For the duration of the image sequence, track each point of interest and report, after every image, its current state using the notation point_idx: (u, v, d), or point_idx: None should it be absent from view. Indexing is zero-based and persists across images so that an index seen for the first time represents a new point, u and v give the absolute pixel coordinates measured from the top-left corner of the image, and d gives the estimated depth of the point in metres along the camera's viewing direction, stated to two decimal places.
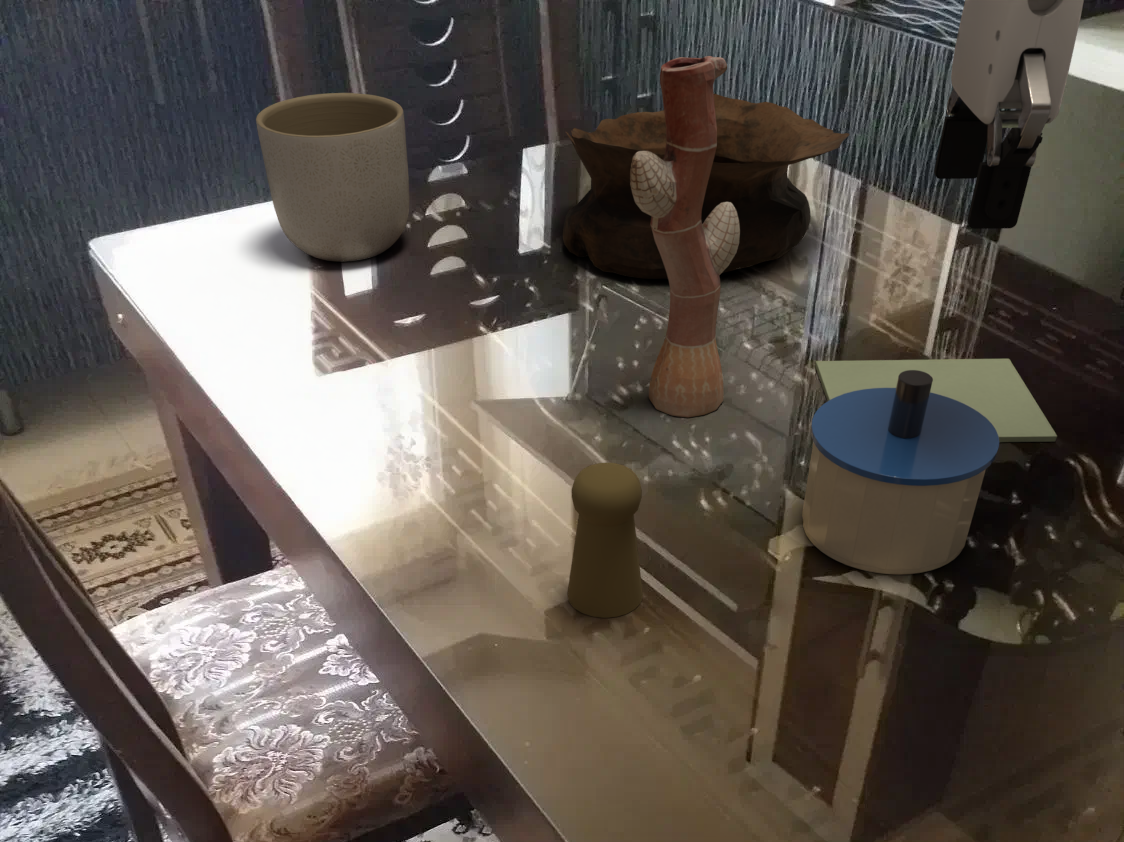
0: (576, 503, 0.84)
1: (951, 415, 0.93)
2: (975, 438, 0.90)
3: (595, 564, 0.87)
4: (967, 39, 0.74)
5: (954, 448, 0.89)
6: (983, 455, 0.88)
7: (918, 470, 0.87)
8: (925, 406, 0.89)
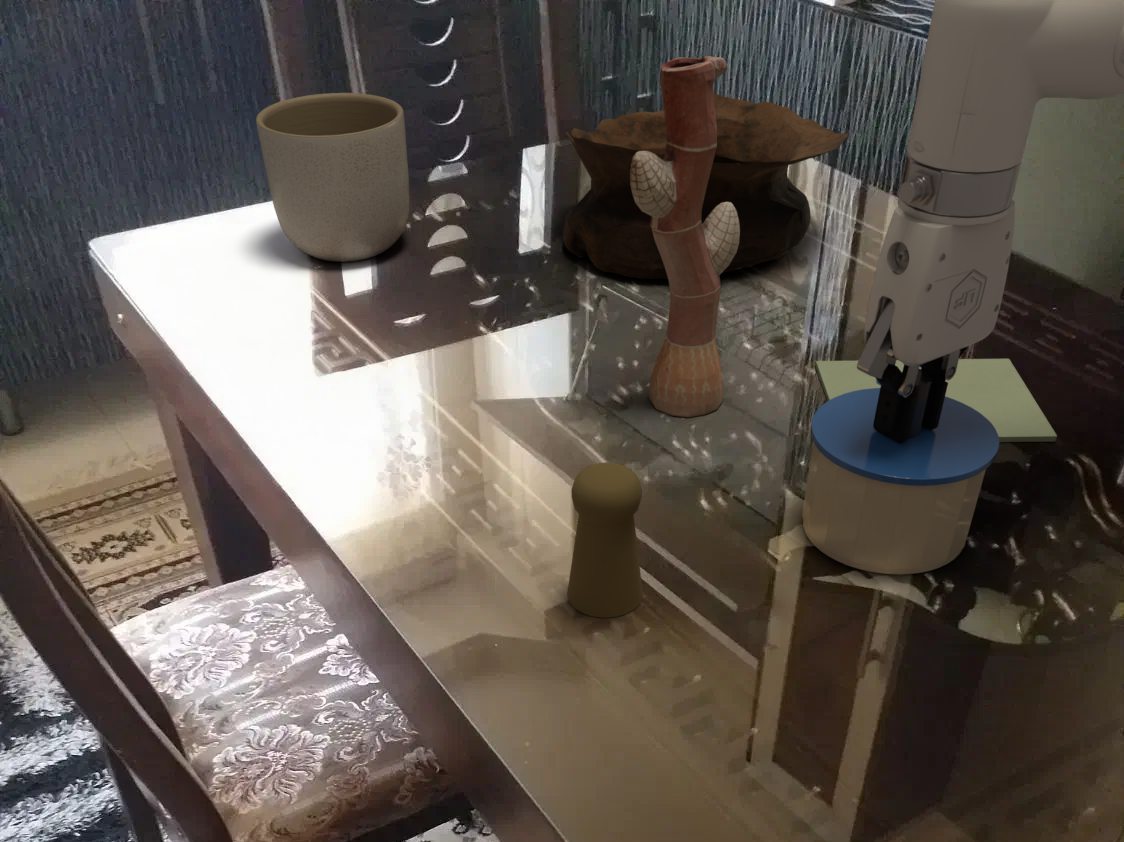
0: (576, 503, 0.84)
1: (951, 415, 0.93)
2: (975, 438, 0.90)
3: (595, 565, 0.87)
4: None
5: (954, 448, 0.89)
6: (983, 455, 0.88)
7: (918, 470, 0.87)
8: (925, 406, 0.89)
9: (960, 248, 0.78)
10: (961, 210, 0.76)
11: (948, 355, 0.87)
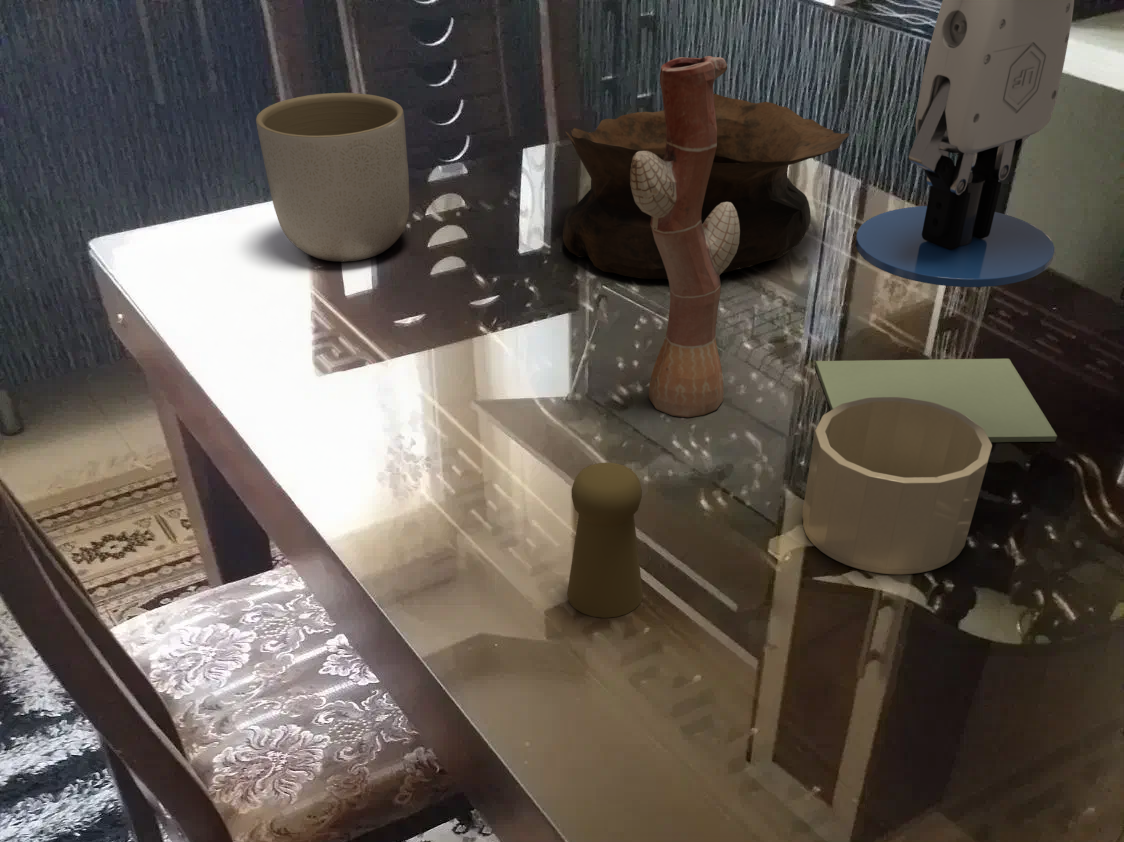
0: (576, 503, 0.84)
1: (1001, 226, 0.89)
2: (1029, 245, 0.86)
3: (595, 565, 0.87)
4: None
5: (1008, 253, 0.85)
6: (1039, 258, 0.84)
7: (972, 272, 0.83)
8: (977, 209, 0.85)
9: (1021, 14, 0.74)
10: None
11: (1002, 150, 0.83)
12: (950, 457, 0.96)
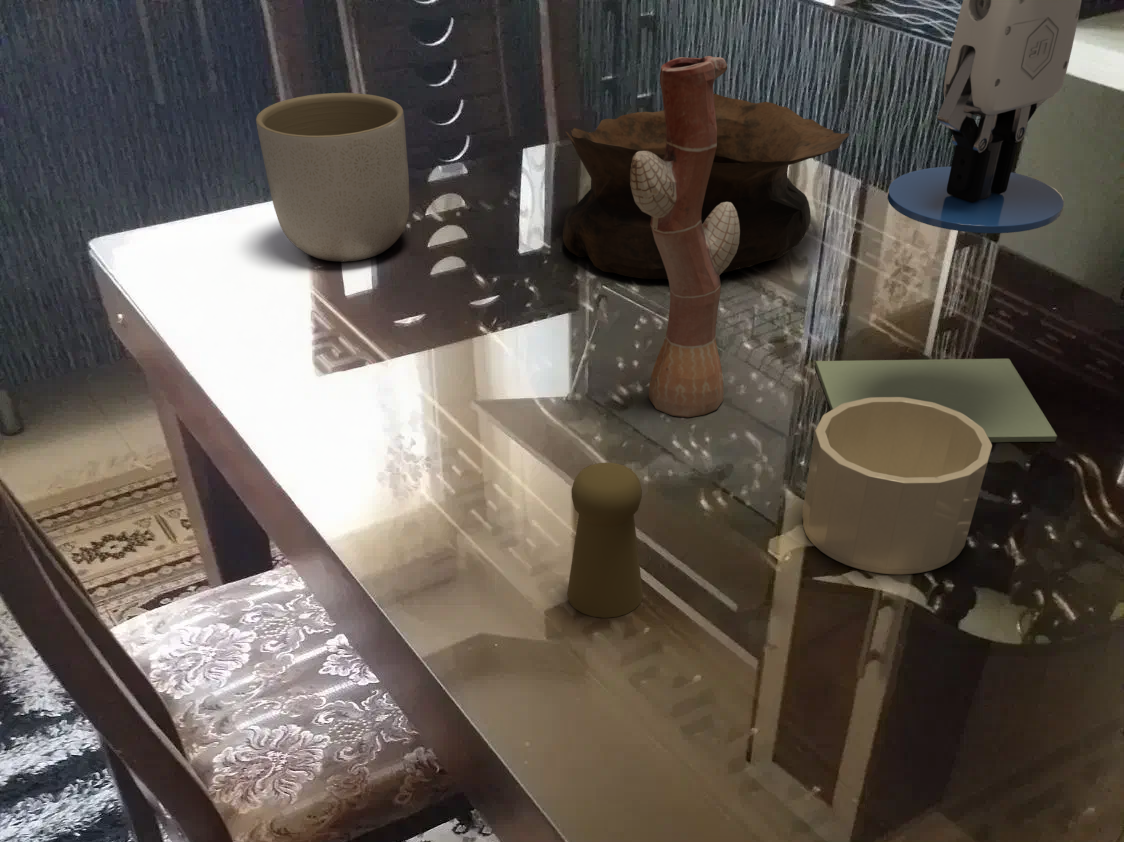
0: (576, 503, 0.84)
1: (1016, 184, 1.00)
2: (1041, 199, 0.98)
3: (595, 564, 0.87)
4: None
5: (1022, 205, 0.97)
6: (1050, 210, 0.96)
7: (991, 220, 0.94)
8: (996, 166, 0.96)
9: None
10: None
11: (1019, 114, 0.94)
12: (950, 457, 0.96)
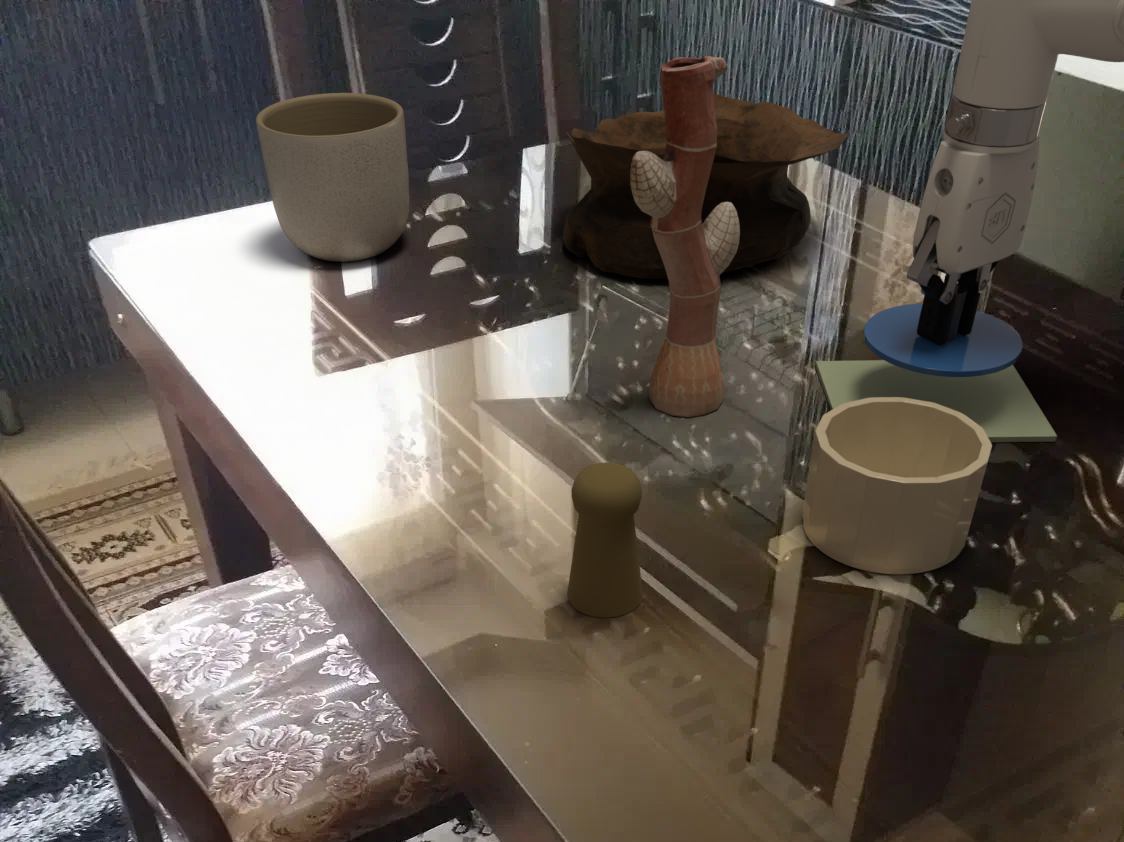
0: (576, 503, 0.84)
1: (981, 324, 1.10)
2: (1002, 341, 1.08)
3: (595, 565, 0.87)
4: None
5: (985, 348, 1.07)
6: (1009, 354, 1.06)
7: (955, 365, 1.04)
8: (961, 313, 1.06)
9: (995, 173, 0.96)
10: (997, 141, 0.93)
11: (981, 269, 1.04)
12: (950, 457, 0.96)
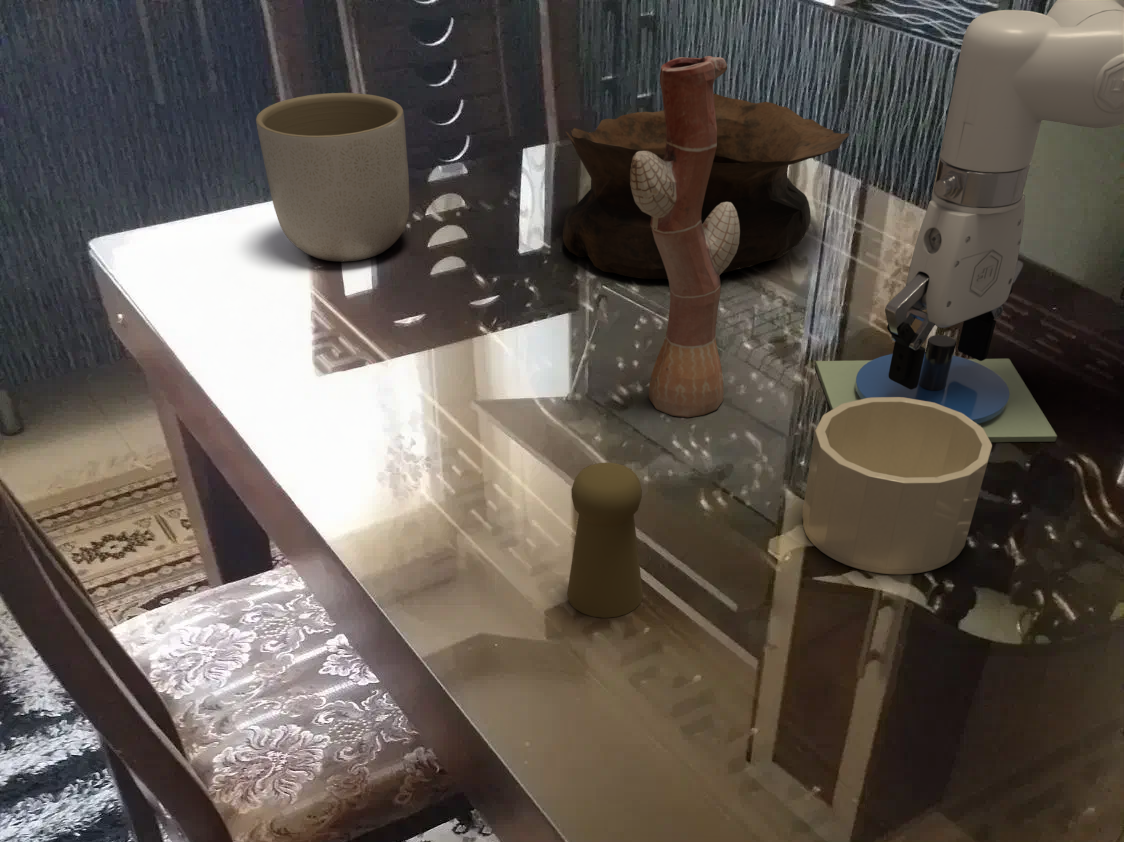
0: (576, 503, 0.84)
1: (969, 373, 1.14)
2: (990, 390, 1.11)
3: (595, 564, 0.87)
4: None
5: (973, 398, 1.10)
6: (997, 404, 1.09)
7: None
8: (949, 364, 1.10)
9: (982, 232, 0.99)
10: (983, 202, 0.97)
11: None
12: (950, 457, 0.96)
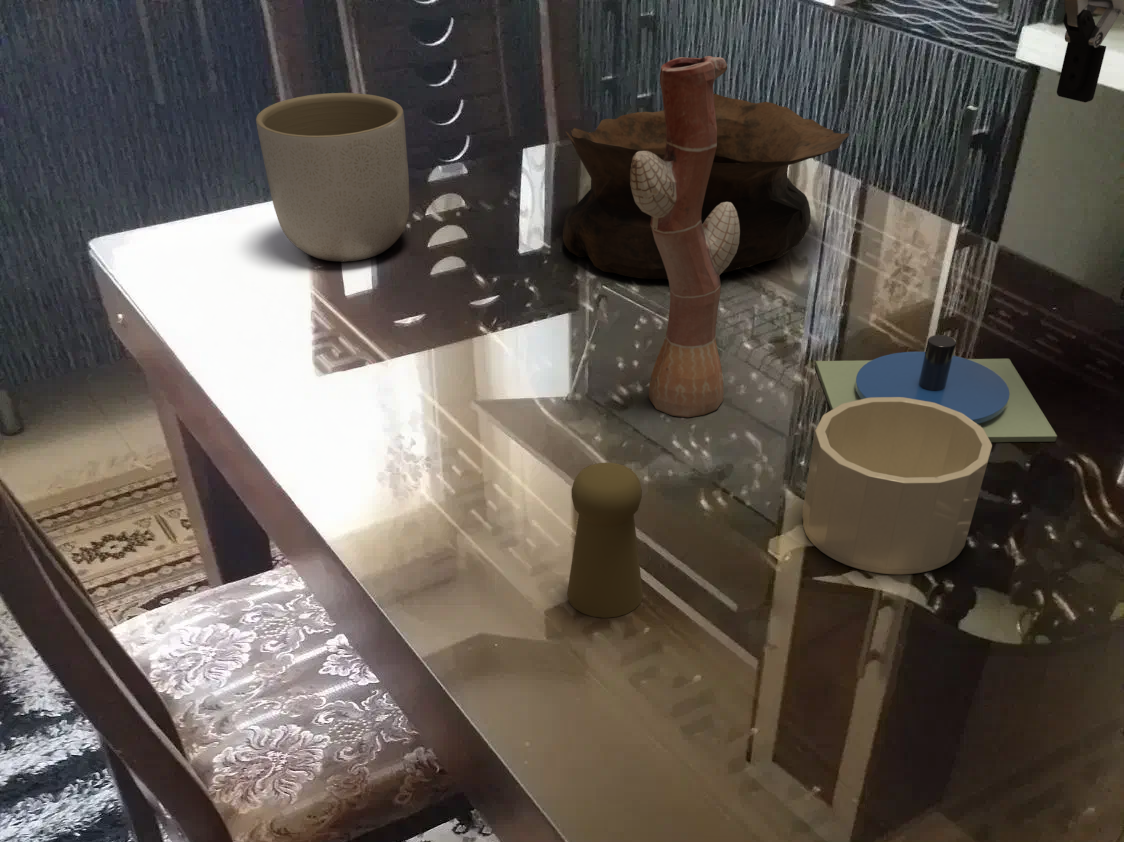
0: (576, 503, 0.84)
1: (969, 373, 1.14)
2: (990, 390, 1.11)
3: (595, 565, 0.87)
4: None
5: (973, 398, 1.10)
6: (997, 404, 1.09)
7: None
8: (949, 364, 1.10)
9: None
10: None
11: None
12: (950, 457, 0.96)
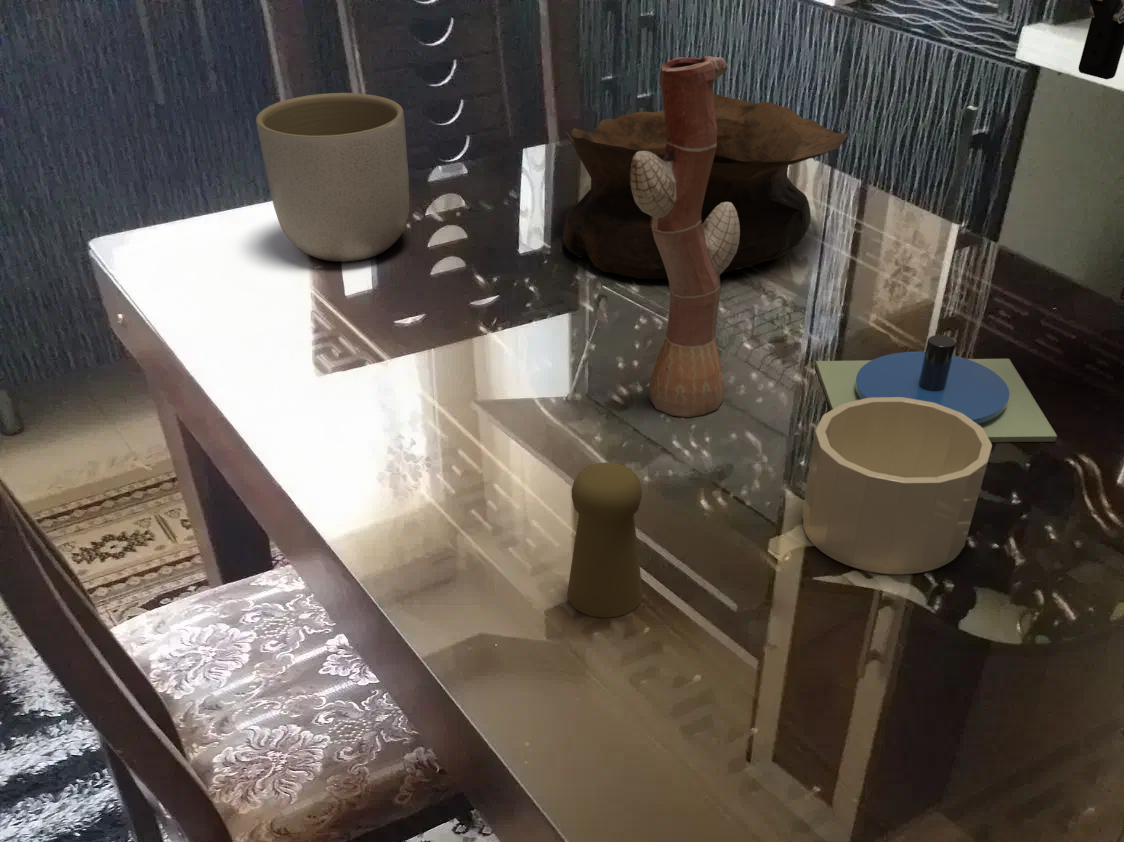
0: (576, 503, 0.84)
1: (969, 373, 1.14)
2: (990, 390, 1.11)
3: (595, 564, 0.87)
4: None
5: (973, 398, 1.10)
6: (997, 404, 1.09)
7: None
8: (949, 364, 1.10)
9: None
10: None
11: None
12: (950, 457, 0.96)
